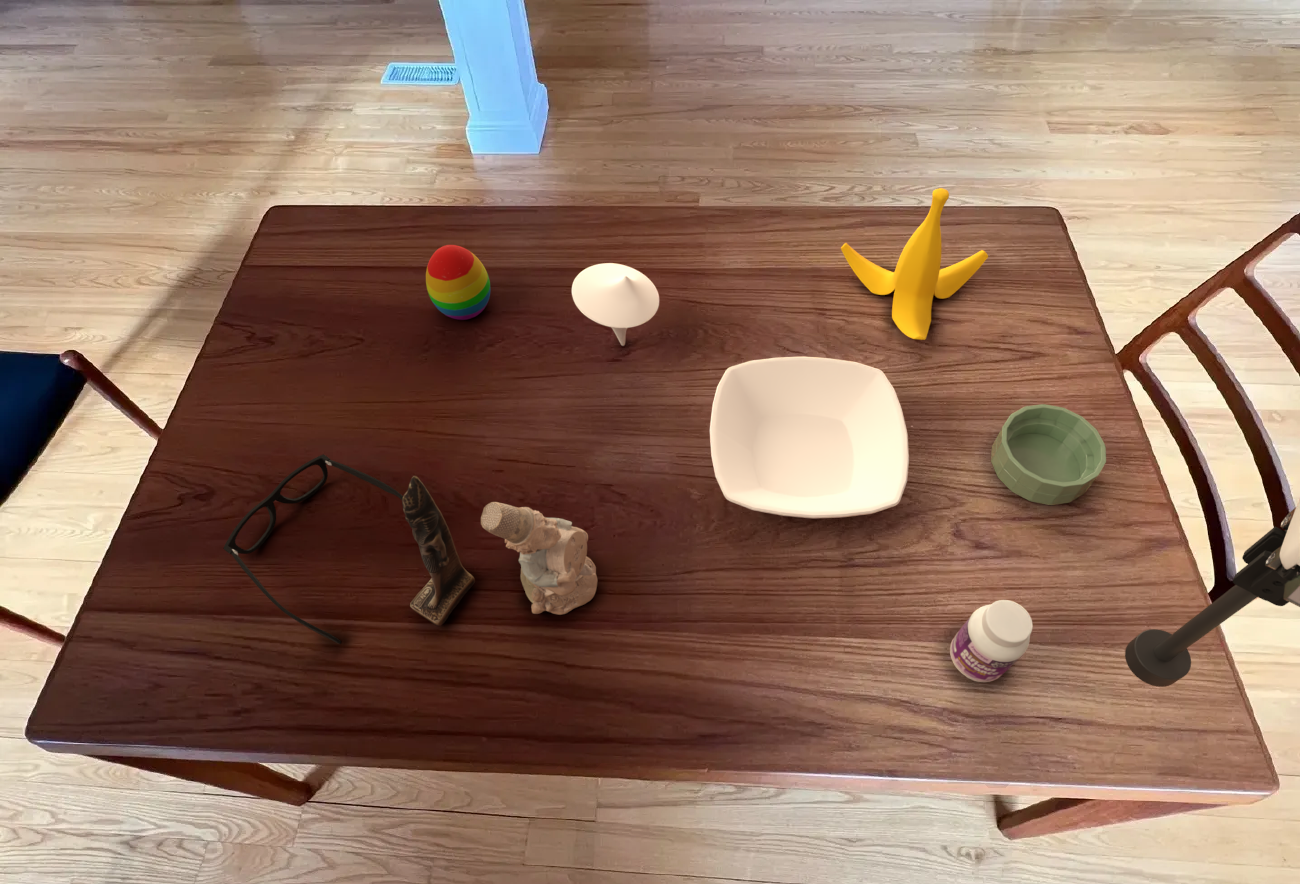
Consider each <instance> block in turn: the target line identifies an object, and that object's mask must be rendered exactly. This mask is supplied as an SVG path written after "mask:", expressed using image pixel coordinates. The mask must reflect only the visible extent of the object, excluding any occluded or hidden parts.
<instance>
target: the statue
mask: <svg viewBox="0 0 1300 884" xmlns="http://www.w3.org/2000/svg"><path fill="white" fill-rule="evenodd" d="M402 496H403V499H402V500H401V503H402V511H403V513H404V515H405V518H404V519H405V521H406V522H407V523H408V524H409V527H410V528H411V529H412V536H413V539H414V540H415V541H416V543H417V544H418V545H417V546H418V548H419V552H420V556H421V560H422V562H423V564H424V566H425V568H426V570H427V572H428V573H429V575H430V577H431V578H430V580H429V581H427V583H426V584H425V586H424V587H423V588H422V589H420V591H419V592H418V593H417V594H416V595H415V597H414V598H413V599H412V600H411V602H410V605H409V607H410V609H411V610H412V611H414V612H416V614H418V615H420V616H421V617H423V618H424V619H426V620H427V621H429V622H430V623H431V624H433V625H435V626H436V627H437V626H438V627H441V626H442V625H444V624H445V623H446V621H447V620H448V618H449V616H450V615H451V613H452V612H453V610H454V609H455V608H456V607H457V605H459V604H460V602H461V600H462V599H463V598H464V596H465V595H466V594H467V593H468V592H469V591H470V590H471V588H472V587H473V586H474V585H475V582H476V579H475V577H474V575H472V574H471V573H470V572H469V571H467V570H466V569H465V567H464V566H463V564H462V562H461V559H460V556H459V554H458V552H457V549H456V545H455V543H454V540H453V539H454V538H453V537H452V534H451V531H450V528H449V526H448V524H447V522H446V519H445V518H444V516H443V513H442V512H441V510H440V509H439V507H438V505H437V503H436V501H435V500H434V498H433V497H432V495H431V494H430V492H429V490H428V489H427V487H426V486H425V485H424V483H423V482H422V480H421V479H420V478H419V477H418V476H417V475H413V476H412V477H411V479H410V481H409V483H408V487H407V490H406V492H405V493H404V494H403V495H402Z"/></svg>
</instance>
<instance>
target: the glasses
mask: <svg viewBox="0 0 1300 884" xmlns="http://www.w3.org/2000/svg"><path fill="white" fill-rule="evenodd" d="M327 465H328V466H331V467H333V468H336V469H339V470H341V471H343V472H345V473H347V474H349V475H352V476H354V477H357V478H358V479H360V480H363V481H365V482H366V483H369V484H371V485H373V486H375V487H377V488H379V489H381V490H382V491H385V492H386V493H389V494H391V495H394V496H395V497H397V498H399V499H400V500H401V501H402V499H403V496H404V495H402V494H401V493H400V492H399V491H397V490H396V489H395V488H393V487H392V486H390V485H388V484H386V483H385V482H383V481H381V480H379V479H378V478H376V477H373V476H371V475H369V474H368V473H365V472H363V471H359V470H358V469H355V468H353V467H351V466H348V465H346V464H343V463H340V462H339V461H336V460H332V459H331V458H330V457H329V456H327V455H326V454H324V453H323V454H320V455H318V456H316V457H314V458H313V459H310V460H309V461H307V462H305V463H304V464H302V465H301V466H298V468H296V469H294V470H293V471H292V472H290V473H289V474H288V475H287V476H286V477H284V479H282V481H281V482H280V483H279V484H278V485H277V486H276V487H275V488H274V489H273V491H272V492H271V493H270V494H268V495H267V496H266V497H265V498H264V499H262V501H261V502H259V503H257V504H256V505H255V506H254V507H253V508H252V509H250V510H249V511H248V512H247V513H246V514H245V516H243V518H242V519H241V520H240V521H239V522H238V523H237V525H236V526H235V528H234V529H233V530H232V532H231V533H230V535H229V537H228V539H227V540H226V542H225V544H224V545H223V550H224V551H225V552H227V554H230V555H232V557H233V558H234V560H235V561H236V563H237V564H238V565H239V567H240V568H241V569H242V570H243V572H245V574H246V575H247V576H248V577H249V578H250V579H251V581H252V582H253V583H254V584H255V586H257V587H258V589H259V590H260V591H261V592H262V593H263V595H265V597H267V598H268V600H269V601H271V602H272V604H274V605H275V607H277V608H278V609H279V610H280V611H281V612H282V613H284V614H286V615H287V616H289V618H291V619H293V620H295V621H296V622H297V623H299V624H301V625H302V626H304V627H306V628H307V629H309V630H311V631H313V632H314V633H316V634H317V635H318V634H319V635H320V636H322V637H324V638H325V639H328V640H330V641H332V642H334V643H336V644H338V645H341V644H342V641H341V640H340V638H337V637H336V636H334V635H332V634H331V633H328V632H327V631H325V630H323V629H321V628H319V627H317V626H315V625H313V624H311V623H309V622H308V621H305V620H304V619H302V618H301V617H299V616H297V615H295V614H293V613H292V612H291V611H289V610H288V609H287V608H285V607H284V606H283V605H282V604H281V603H279V602H278V600H276V599H275V598H274V597H273V596H272V595H271V593H270V592H269V591H268V590H267V589H266V588H265V587H264V585H263V584H262V583H261V582H260V580H259V579H258V578H257V577H256V576H255V575H254V573H253V572H252V571H251V570H250V569H249V568H248V566H247V565H246V564H245V562H244V561H243V559H242V558H241V557H240V556H239V554H242V555H247V554H248V555H249V554H251V553H254V552H256V551H257V550H258V549H259V548H260V547H261V546H262V545H263V544H264V543H265V542H266V540H268V538H269V536H270V535H271V533H272V532H273V530H274V528H275V526H276V523H277V510H276V506H275V503H274V502H275V501H276V502H278V503H281V504H287V505H293V504H294V505H295V504H299V503H301V502H303V501H306V500H307V499H309V498H310V497H312V496H313V495H314V494H316V493H317V492H319V490H320V489H322V487H323V486H324V485H325V484H326V482H327V480H328V476H329V472H328V467H327ZM312 466H319V468H320V469H321V472H322V478H321V479H320V481H319V482H318V483H317V484H316V485H315V486H314V487H313V488H311V489H310V490H309V491H307V492H306V493H305V494H303V495H301V496H299V497H296V498H291V497H287V496H284V495H283V494H281V492H282V490H283V488H284V487H286V485H287V484H288V483H289V482H290V481H291V480H293V479H294V478H295V477H296V476H298V475H299V474H301V473H302V472H303V471H305V470H306V469H308V468H311V467H312ZM263 508H266V510H267V512H268V514H269V524H268V526H267V529H266V530H265V532H264V533H263V535H262V536H261V537H260V538H259V539H258V540H257V541H256V543H254V545H252V546H251V547H250V548H248V549H244V548H242V547H240V546H238V544H237V542H236V539H237V537H238V535H239V533H240V531H241V530H242V529H243V527H244V526H245V525H246V523H247V522H248V521H249V520H250V519H251V518H252V517H253V516H254V515H255V514H256V513H257V512H258V511H259V510H261V509H263Z"/></svg>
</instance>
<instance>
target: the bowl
mask: <svg viewBox="0 0 1300 884" xmlns="http://www.w3.org/2000/svg"><path fill="white" fill-rule="evenodd" d="M908 435H909V434H908V430H907V426H906V420H905V417H904V413H903V409H902V406H901V403H900V400H899V397H898V395H897V392H896V390H895V388H894V386H893V385H892V383H891V382H890V380H889V378H888V377H887V376H886V373H884V371H882V370H881V369H879V368H876V367H873V366H870V365H867V364H864V363H861V362H857V361H852V360H851V361H850V360H845V359H838V358H832V357H831V358H830V357H816V356H785V357H784V356H783V357H781V356H779V357H772V358H763V359H762V358H761V359H754V360H753V359H751V360H748V361H745V362H742V363H739V364H738V363H737V364H735V365H732V366H729V367H728V368H727V369H725V372H724V373H723V375H722V377H721V378H720V381H719V383H718V384H717V386H716V389H715V394H714V398H713V402H712V405H711V414H710V423H709V441H710V455H711V461H712V462H711V463H712V465H713V471H714V477H715V479H716V481H717V484H718V485H719V488H720V490H721V492H722V494H723V497H724V498H725V499H726V500H727V501H729V502H730V503H733V504H736V505H739V506H741V507H744V508H746V509H748V510H751V511H755V512H760V513H766V514H771V515H778V516H783V517H793V518H805V519H832V518H834V519H835V518H836V519H837V518H847V517H856V516H864V515H872V514H875V513H878V512H881V511H884V510H887V509H890V508H893V507H896V506H897V505H899V504H900V502H901V500H902V496H903V494H904V491H905V488H906V485H907V483H908V476H909V463H910V456H909V455H910V454H909V453H910V452H909V436H908Z"/></svg>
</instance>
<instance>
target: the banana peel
mask: <svg viewBox="0 0 1300 884" xmlns="http://www.w3.org/2000/svg"><path fill="white" fill-rule="evenodd" d="M931 195H932V196H931V205H930V208H929V212H928V214H927V215H926V217H925V219H924V220H923V222H922V223H921V224H920V225H919V226H918V227H917V228H916V230H915V231H914V232H913V233H912V235H911V236H910V238H909V239H908V240H907V242H906V243H905V246H904V247H903V249H902V251H901V253H900V256H899V258H898V260H897V263H896V266H895V270H894V271H891V270H888V269H886V268H883V267H881V266H880V265H878V264H876V263H873V262H872V261H870V260H869V259H867V258H866V257H864V256H862V255H861V254H860V253H859V252H857V251H856V250H855V249H854V248H852V247H851V246H850V245H849V243H847V242H845V243H843V245H842V246H841V247H840V251H841V252H842V254H843V257H844V258H845V260H846V262H847V264H848V265H849V267H850V268H851V270H852V271H853V273H854V275H856V277H857V278H858V280H860V282H861V283H862V284H863V285H864V287H866V288H867V289H868V290H869V292H871V293H872V294H874V295H880V296H885V295H890V294H891V293H893V292H894V293H893V298H892V308H891V319H892V320H893V322H894V324H895V325H896V327H897V328H898V329H899V330H900V332H901V333H902V334H904V335H905V336H907V337H908V338H910V339H912V340H920V341H925V340H926V339H927V337H928V333H929V329H930V326H931V322H932V306H933V300H934V296H935V298H937V299H940V300H941V299H947V298H950V297H952V295H954V294H955V293H956V292H957V291H958V290H959V289H960V288H962V287H963V286H964V284H966V283H967V282H968V281H969V280H970V279H971V277H973V275H975V274H976V272H978V270H979V269H980V268H981V267H982V266H983V264H984V263H985V262H986V260H987V259H988V258H989V255H988V253H987V252H986V251H985V250H983V249H981V250H979V251H978V252H976V253H974V254H972V255H970V256H968V257H967V258H965V259H963V260H961V261H959V262H956V263H954V264H952V265H949V266H947V267H943V268H941V264H942V254H943V253H942V249H943V248H942V247H943V246H942V230H941V218H942V217H941V216H942V212H943V209H944V207H945V205H946V203H947V201H948V200H949V197H950V193H949V191H948V189H946V188H943V187H939V188H936V189H934V190H932V194H931Z"/></svg>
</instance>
